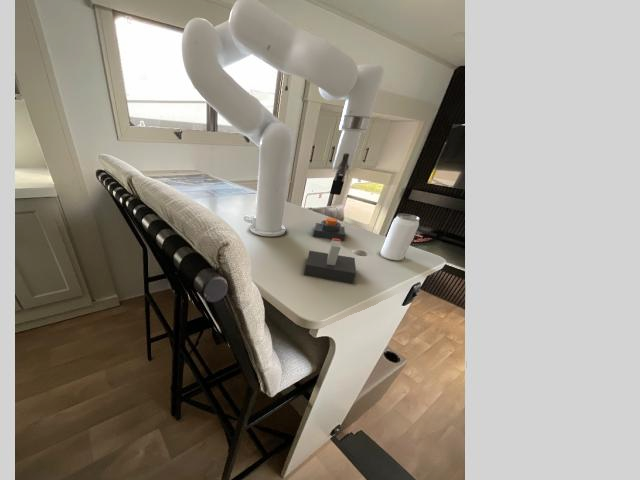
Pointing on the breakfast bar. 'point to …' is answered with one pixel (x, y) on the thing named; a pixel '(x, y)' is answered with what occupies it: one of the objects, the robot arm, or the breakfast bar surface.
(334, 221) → the button
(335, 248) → the timer knob
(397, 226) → the can
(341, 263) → the panel
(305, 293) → the breakfast bar surface
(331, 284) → the breakfast bar surface
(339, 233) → the button block
